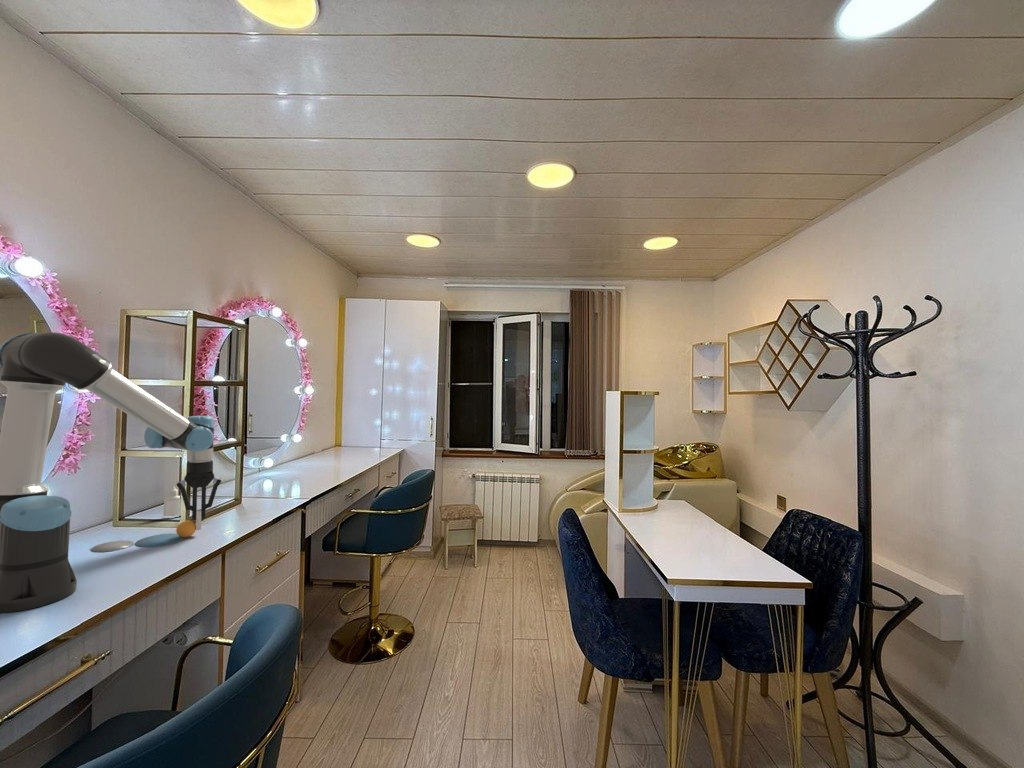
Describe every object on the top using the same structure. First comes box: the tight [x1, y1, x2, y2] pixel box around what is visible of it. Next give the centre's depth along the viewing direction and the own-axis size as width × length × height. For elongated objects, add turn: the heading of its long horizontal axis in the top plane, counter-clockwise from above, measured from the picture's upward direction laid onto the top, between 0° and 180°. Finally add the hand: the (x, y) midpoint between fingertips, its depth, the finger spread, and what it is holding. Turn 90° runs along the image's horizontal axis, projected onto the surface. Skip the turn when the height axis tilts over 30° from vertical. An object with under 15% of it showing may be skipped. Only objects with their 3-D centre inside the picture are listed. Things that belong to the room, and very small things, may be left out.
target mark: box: [135, 532, 186, 548], centre depth 149 cm, size 13×13×1 cm
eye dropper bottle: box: [163, 486, 181, 517], centre depth 174 cm, size 4×6×12 cm
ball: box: [175, 520, 197, 538], centre depth 153 cm, size 6×6×6 cm
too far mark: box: [90, 540, 134, 553], centre depth 142 cm, size 10×10×1 cm
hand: (198, 528), depth 155 cm, fingers closed
